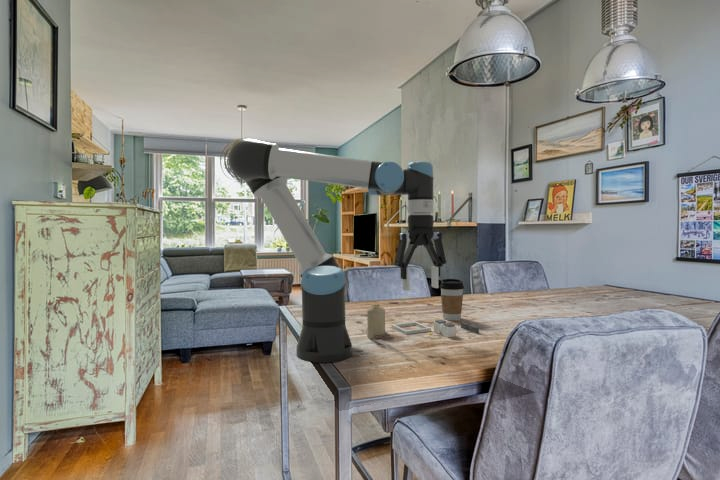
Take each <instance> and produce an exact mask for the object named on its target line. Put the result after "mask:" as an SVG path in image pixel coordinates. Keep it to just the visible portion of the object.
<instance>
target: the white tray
mask: <svg viewBox="0 0 720 480" xmlns="http://www.w3.org/2000/svg"><path fill="white" fill-rule="evenodd" d="M390 325H391V328H392V329H394V330H395V331H397V332H399V333H402V334H403V335H411V334H419V333H426V335H433V334H434V333H433V332H432V327H429V326H428V325H424V324H422V323H421V322H418V321H410V322H403V323H393V324H390ZM413 326H416V327H418V328H415V329H408V330H407V329H404V328H403V327H413ZM460 329H463V330H465V331H469V332H471V333H474V334H477V335H478V334H479V333H480V329H479V327H478V326H475V325H470V324H469V323H467V322H463V321H462V322H460ZM434 338H435V339H441V338H442V336H439V335H436V336H435V335H434Z"/></svg>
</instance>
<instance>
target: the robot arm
mask: <svg viewBox="0 0 720 480" xmlns="http://www.w3.org/2000/svg"><path fill="white" fill-rule="evenodd" d="M228 163H229V164H228V165H229V167H230V170H231V171H232V173H233V174H234V175H235V176H236V177H238V178H239V179H241V180H244V182H246V184H247V186H248V188H249V189H250V190H249V191H251V193H252V194H253V196H254V197H255V198H260V199H261V200H262V202H263V204H264V205H265V207H266V209H267V210H268V212H269V214H270V216H271V217H272V219H273V221H274V223H275V224H276V226H277V228H278V229H279V231H280V233H281V235H282V236H283V238H284V240H285V242H286V244H287V245H288V247H289V249H290V250H291V251H292V254H293V255H294V257H295V259H296V261H297V263H298V264H299V265H300V271H299V276H300V278H301V281H300V286H301V303H302V304H301V305H302V306H301V307H302V308H301V310H302V311H301V313H302V317H301V318H302V327H301V331H300V334H299V337H298V341H297V345H296V347H295V348H296V350H295V351H296V357H297V358H298V359H300V360H301V361H304V362H310V363H321V364H322V363H323V364H325V363H326V364H327V363H334V362H339V361H344V360H345V359H348V358H349V357H351V356H352V354H353V344H352V341H351V338H350V335H349V331H348V329H347V325H346V296H347V294H348V292H349V285H350V284H349V278H348V275H347V273H346V272H345V271H344V269H342V268H341V267H340V265H339V264H338V261H337V260H336V259H335V257H334V255H333V254H330V253H327V252H326V251H325V249H324V247H323V246H322V243H321V242H320V241H319V239H318V237H317V235H316V234H315V232H314V230H313V228H312V227H311V225H310V223H309V221H308V219H307V218H306V216H305V215H304V212H303V211H302V209H301V207H300V206H299V204H298V203H297V201H296V199H295V197H294V196H293V193H292V191H291V189H290V188H289V187H288V180H289V179H294V180H300V181H301V180H302V181H307V182H314V183H324V184H328V185H329V184H330V185H338V186H345V187H352V188H359V189H360V188H361V189H366V190H367V191H368V194H369V195H370V196H371V195H372V196H379V197H380V196H395V195H397V196H400V195H402V196H404V195H407V213H408V214H409V215H408V217H407V227H408V231H407V232H405V233H404V232H400V233H398V239H399V241H398V246H397V248H396V249H397V251H396V255H395V259H394V266H396V267H399V268H400V279H401V280H402V290H404V291H406V292H408V291H409V292H410V290H411V289H410V288H411V287H410V286H411V285H410V282H411V281H410V277H411V273H410V272H411V270H410V268H409V267H408V266H409V265H410V262H411V259H412V257H413V256H414V253H415V251H416V249H417V248H418V247H419V246H423V247H424V248H425V249H426V252H427V253H428V255H429V257H430V260H431V262H432V264H433V265H430V266H431V269H430V271H431V273H430V275H431V276H430V277H431V288H434V289H439V278H440V277H441V267H443V266H444V265H445V264H446V263H447V260H446V254H445V251H444V250H445V249H444V246H443V241H442V240H443V239H442V237H443V233H442V232H436V231H435V232H434V229H433V227H434V216H433V213H434V169H433V168H434V167H433V165H432V163H431V162H428V161H413V162H412V161H411V162H409V163H408V164H407V168H406V169H403V168H402V166H401V165H399V163H397V162H395V161H385V162H383V161H382V162H381V161H372V160H368V159H367V160H366V159H360V158H354V157H353V158H352V157H345V156H340V155H331V154H323V153H317V152H311V151H310V152H309V151H302V150H295V149H288V148H281V147H280V145H278V144H277V143H273V142H267V141H263V140H262V141H261V140H258V139H253V138H244V139H240V140H239V141H237V142H236V143H234V144H233V146H232V147H231V148H230V151H229V153H228ZM432 239H433V241H432ZM408 240H409V242H407V241H408Z"/></svg>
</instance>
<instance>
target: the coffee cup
mask: <svg viewBox="0 0 720 480" xmlns="http://www.w3.org/2000/svg"><path fill="white" fill-rule="evenodd" d="M439 288H440V292H441V293H440V298H441V300H440V301H441V309H442V310H441V311H442V318H443V319H442V320H445V321H460V320H461V319H462V312H463V311H462V310H463V308H462V307H463V299H464V294H463V292H464V289H465V286H464V283H463V280H461V279H457V278H445V279H444V278H443V279H441V281H440V285H439Z"/></svg>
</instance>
